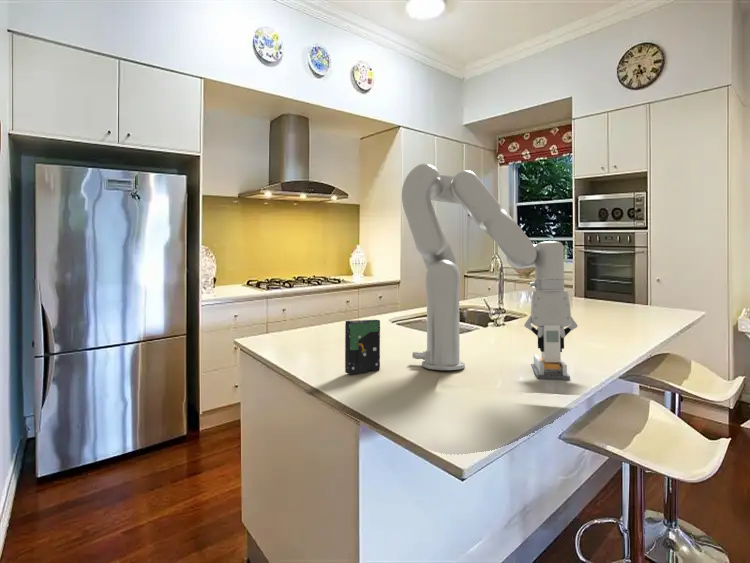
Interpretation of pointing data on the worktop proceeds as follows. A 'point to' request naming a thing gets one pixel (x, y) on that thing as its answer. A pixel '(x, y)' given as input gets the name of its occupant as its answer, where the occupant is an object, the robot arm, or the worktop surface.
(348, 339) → the disk drive
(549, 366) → the orange rectangular panel
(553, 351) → the block
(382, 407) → the worktop surface
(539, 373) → the rail
